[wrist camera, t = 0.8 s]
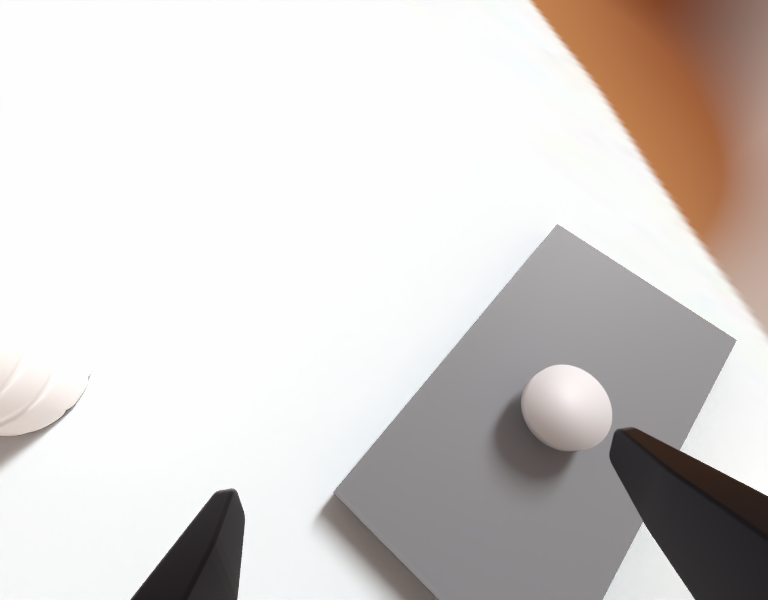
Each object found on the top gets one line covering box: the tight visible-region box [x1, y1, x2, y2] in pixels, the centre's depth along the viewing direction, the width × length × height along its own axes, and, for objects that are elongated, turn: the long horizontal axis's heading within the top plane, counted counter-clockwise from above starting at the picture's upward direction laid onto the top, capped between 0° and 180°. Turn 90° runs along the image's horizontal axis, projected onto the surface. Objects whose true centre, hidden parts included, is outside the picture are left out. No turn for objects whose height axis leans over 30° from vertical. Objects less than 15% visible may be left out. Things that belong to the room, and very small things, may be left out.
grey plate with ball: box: [333, 224, 736, 600], centre depth 21 cm, size 12×21×4 cm, turn 139°
